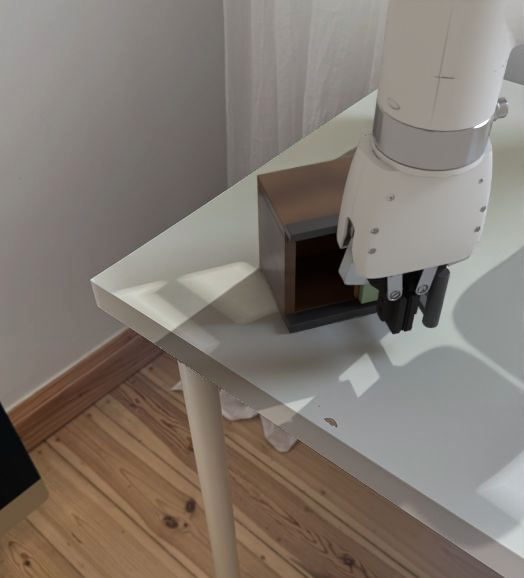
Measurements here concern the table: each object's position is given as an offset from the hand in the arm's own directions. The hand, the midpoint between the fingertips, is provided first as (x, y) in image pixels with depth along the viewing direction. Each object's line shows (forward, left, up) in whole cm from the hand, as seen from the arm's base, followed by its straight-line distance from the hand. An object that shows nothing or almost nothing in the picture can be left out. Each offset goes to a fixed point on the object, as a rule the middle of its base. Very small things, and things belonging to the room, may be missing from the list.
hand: (394, 320), depth 62 cm
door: (-3, -3, -3) cm, 5 cm away
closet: (+1, -11, -5) cm, 12 cm away
